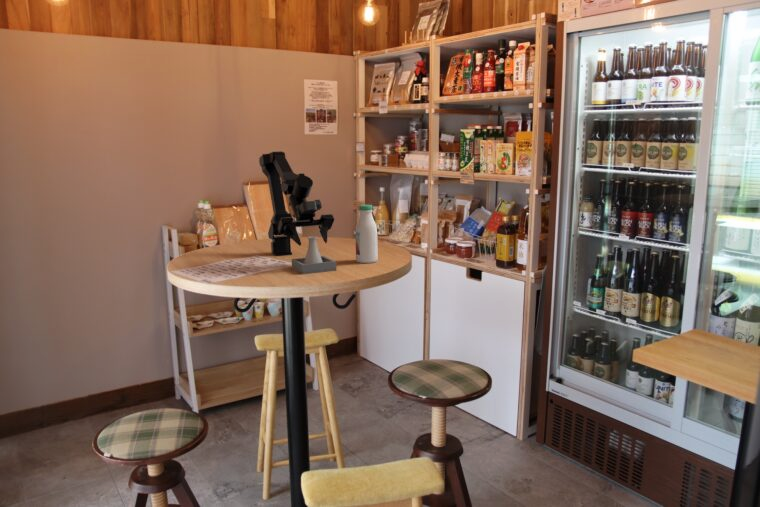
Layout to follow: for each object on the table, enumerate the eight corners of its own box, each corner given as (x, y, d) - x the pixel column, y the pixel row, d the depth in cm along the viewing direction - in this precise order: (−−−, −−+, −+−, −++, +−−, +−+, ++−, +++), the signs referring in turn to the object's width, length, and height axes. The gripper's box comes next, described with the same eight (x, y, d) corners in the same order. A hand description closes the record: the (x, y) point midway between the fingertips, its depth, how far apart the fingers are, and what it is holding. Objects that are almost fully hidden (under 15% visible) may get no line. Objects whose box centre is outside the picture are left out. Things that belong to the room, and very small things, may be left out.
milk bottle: (380, 259, 219) (379, 204, 215) (373, 264, 212) (372, 206, 208) (360, 258, 221) (359, 203, 218) (352, 262, 214) (351, 206, 210)
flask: (299, 266, 206) (298, 236, 204) (319, 263, 210) (318, 234, 208) (307, 269, 200) (306, 239, 198) (327, 267, 203) (326, 237, 202)
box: (323, 264, 212) (323, 255, 212) (336, 270, 202) (336, 261, 202) (291, 267, 207) (291, 259, 207) (302, 274, 197) (302, 264, 197)
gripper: (279, 193, 200) (291, 231, 192) (331, 190, 209) (345, 226, 201) (272, 215, 208) (284, 251, 201) (323, 211, 217) (336, 246, 209)
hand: (313, 243), depth 203 cm, fingers open, 9 cm apart
